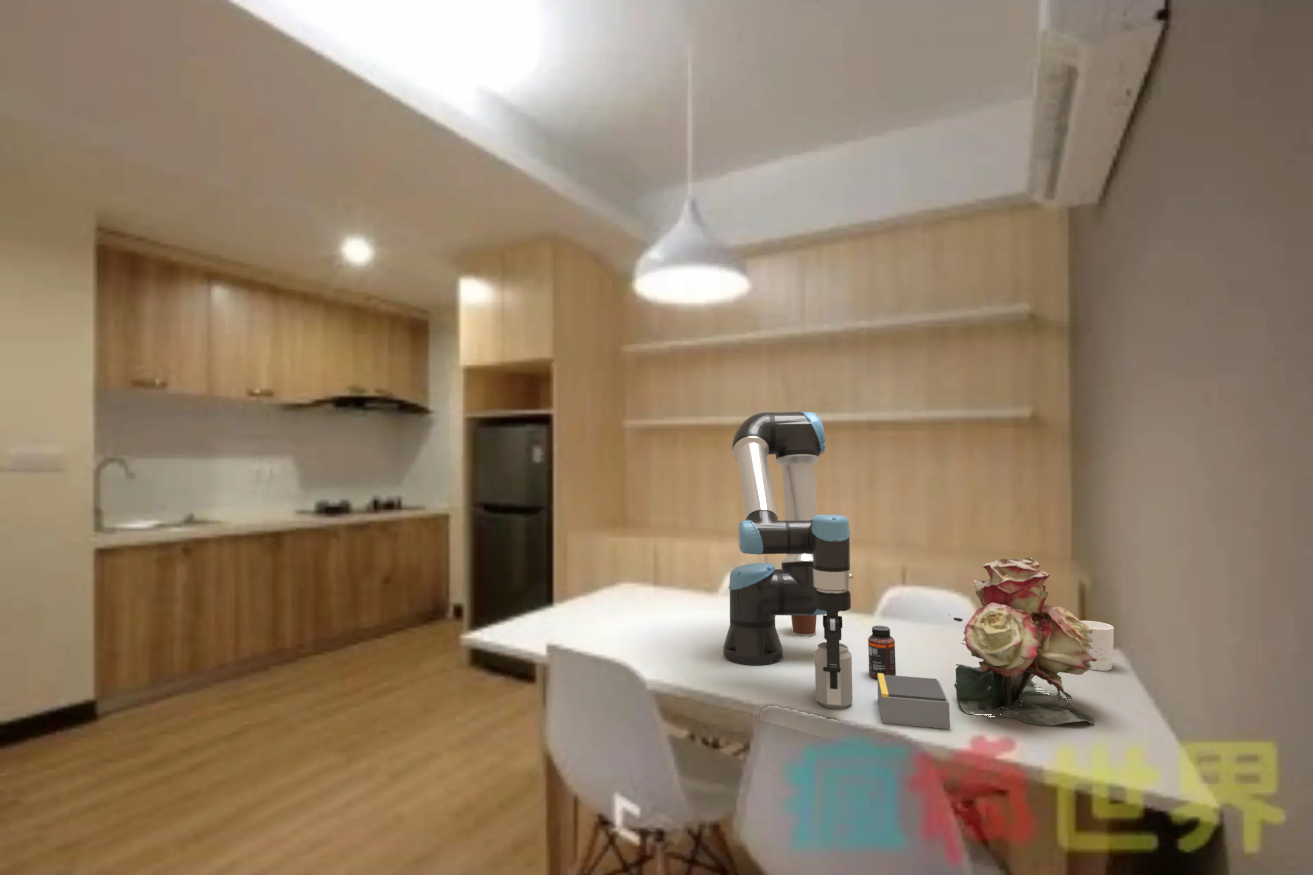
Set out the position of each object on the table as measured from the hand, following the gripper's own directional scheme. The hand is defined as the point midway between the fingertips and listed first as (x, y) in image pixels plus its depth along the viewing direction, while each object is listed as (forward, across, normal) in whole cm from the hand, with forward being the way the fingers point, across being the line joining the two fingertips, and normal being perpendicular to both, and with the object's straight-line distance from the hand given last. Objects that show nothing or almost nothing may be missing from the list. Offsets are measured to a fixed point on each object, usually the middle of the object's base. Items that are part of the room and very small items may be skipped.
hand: (833, 691), depth 133 cm
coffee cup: (+2, +51, +8) cm, 52 cm away
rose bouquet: (+3, +9, -38) cm, 39 cm away
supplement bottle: (+2, +19, -11) cm, 22 cm away
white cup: (+2, +38, -61) cm, 72 cm away
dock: (+2, -2, -15) cm, 15 cm away
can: (+3, 0, 0) cm, 3 cm away
